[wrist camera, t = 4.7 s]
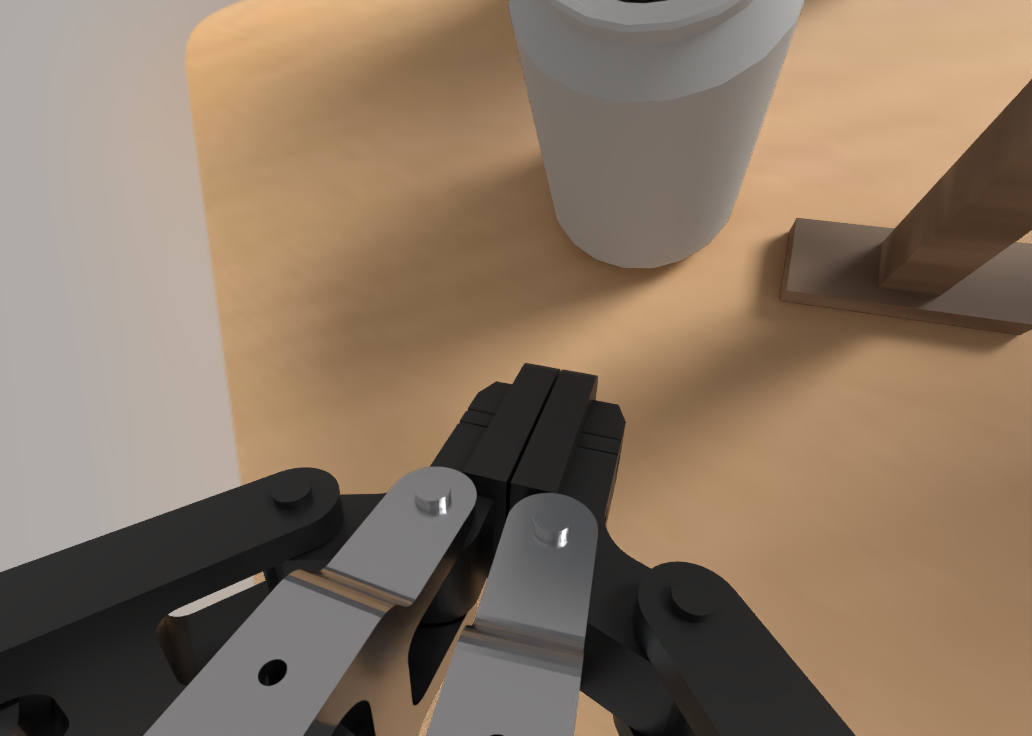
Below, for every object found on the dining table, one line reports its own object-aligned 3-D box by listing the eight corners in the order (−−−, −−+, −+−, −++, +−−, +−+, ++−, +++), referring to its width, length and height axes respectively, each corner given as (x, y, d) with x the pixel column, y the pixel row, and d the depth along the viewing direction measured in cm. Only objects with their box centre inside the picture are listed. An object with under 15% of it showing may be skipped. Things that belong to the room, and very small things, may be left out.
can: (560, 288, 24) (501, 75, 12) (548, 136, 26) (487, -167, 14) (748, 265, 23) (872, 5, 11) (720, 107, 25) (800, -249, 13)
